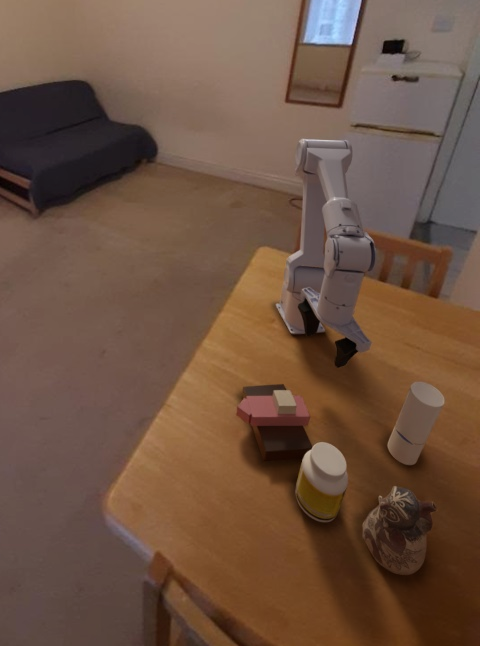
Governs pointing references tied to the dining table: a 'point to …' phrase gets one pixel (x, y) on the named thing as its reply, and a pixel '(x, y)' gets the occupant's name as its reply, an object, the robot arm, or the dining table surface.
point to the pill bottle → (322, 482)
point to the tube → (415, 422)
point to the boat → (274, 410)
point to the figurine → (399, 531)
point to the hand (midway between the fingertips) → (324, 349)
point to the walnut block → (278, 432)
